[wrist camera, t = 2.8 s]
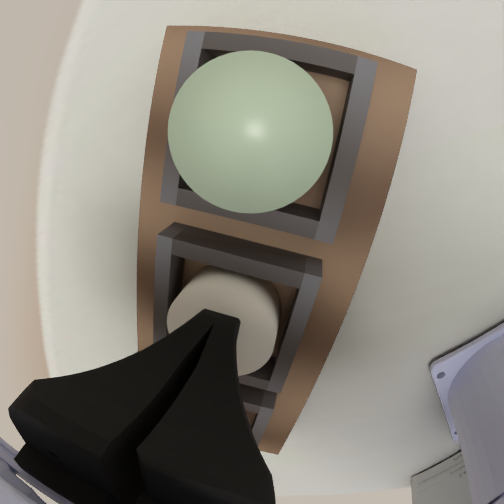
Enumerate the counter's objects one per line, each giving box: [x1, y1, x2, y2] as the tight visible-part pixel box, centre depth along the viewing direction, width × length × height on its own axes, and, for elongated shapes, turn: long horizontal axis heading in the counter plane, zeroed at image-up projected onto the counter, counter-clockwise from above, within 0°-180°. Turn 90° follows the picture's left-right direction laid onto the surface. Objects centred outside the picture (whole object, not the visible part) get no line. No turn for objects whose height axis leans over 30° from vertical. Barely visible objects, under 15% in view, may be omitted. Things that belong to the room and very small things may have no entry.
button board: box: [137, 26, 417, 455], centre depth 13 cm, size 21×9×4 cm, turn 169°
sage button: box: [168, 50, 333, 213], centre depth 8 cm, size 4×4×2 cm
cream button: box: [167, 265, 281, 376], centre depth 12 cm, size 4×4×2 cm
